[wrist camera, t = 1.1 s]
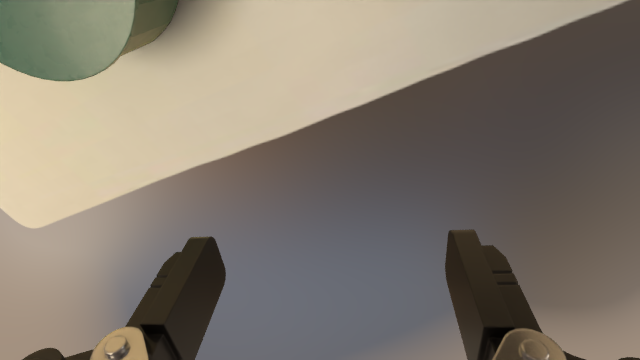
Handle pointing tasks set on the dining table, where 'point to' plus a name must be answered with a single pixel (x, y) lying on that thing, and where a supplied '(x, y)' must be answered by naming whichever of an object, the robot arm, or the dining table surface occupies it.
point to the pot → (151, 21)
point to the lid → (65, 36)
